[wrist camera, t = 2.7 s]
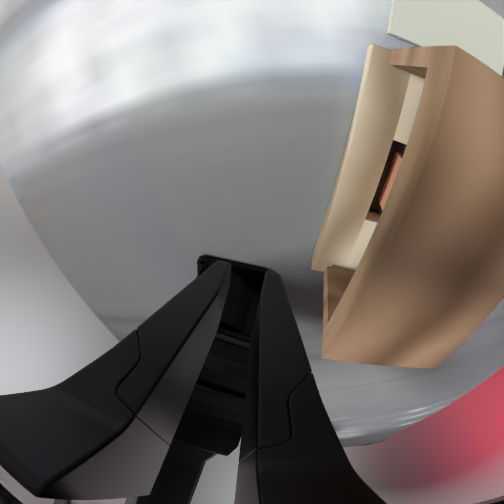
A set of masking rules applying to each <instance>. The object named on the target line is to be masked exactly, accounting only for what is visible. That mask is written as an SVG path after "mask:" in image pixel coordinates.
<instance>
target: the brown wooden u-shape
mask: <svg viewBox="0 0 504 504" xmlns="http://www.w3.org/2000/svg"><path fill="white" fill-rule="evenodd" d="M389 65H391V66H394V67H397V68H399V69H402V70H404V71H407V72H409V73H411V74H414V75H416V76H418V77H421V78H423V79H425V81H424V85H423V90H422V94H421V98H420V102H419V105H418V109H417V113H416V116H415V120H414V123H413V127H412V130H411V133H410V136H409V140H408V143H407V146H406V149H405V152H404V155H403V158H402V161H401V164H400V166H399V169H398V172H397V175H396V178H395V180H394V183H393V186H392V188H391V191H390V193H389V196H388V198H387V201H386V203H385V206H384V208H383V211H382V213H381V216H380V218H379V220H378V223H377V225H376V227H375V230H374V232H373V234H372V237H371V239H370V241H369V243H368V245H367V248H366V250H365V252H364V254H363V256H362V258H361V260H360V262H359V264H358V267H357V269H356V271H355V272H352V271H347V270H343V269H338V268H333V267H329V266H327V268H326V270H325V273H324V275H323V338H322V358H324V359H331V360H339V361H346V362H354V363H363V364H373V365H384V366H396V367H412V368H435V367H436V366H437V365H439V364H440V363H441V362H442V361H443V360H444V359H445V358H447V357H448V356H449V355H450V354H451V353H452V352H453V351H454V350H455V349H456V348H457V347H459V346H460V345H461V344H462V343H463V342H464V341H465V340H466V339H467V338H468V337H469V336H470V335H471V334H472V333H473V332H474V331H475V330H476V329H477V327H478V326H479V325H480V324H481V323H482V322H483V321H484V320H485V319H486V318H487V317H488V315H489V314H490V313H491V312H492V311H493V310H494V308H495V307H496V306H497V305H498V304H499V303H500V301H501V300H502V299H503V298H504V78H503V77H502V76H501V75H499V74H498V73H497V72H495V71H494V70H493V69H491V68H490V67H488V66H487V65H486V64H484V63H483V62H481V61H480V60H478V59H477V58H475V57H474V56H472V55H471V54H469V53H467V52H466V51H464V50H463V49H461V48H459V47H458V46H425V47H412V48H402V49H393V50H392V53H391V58H390V63H389Z"/></svg>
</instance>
